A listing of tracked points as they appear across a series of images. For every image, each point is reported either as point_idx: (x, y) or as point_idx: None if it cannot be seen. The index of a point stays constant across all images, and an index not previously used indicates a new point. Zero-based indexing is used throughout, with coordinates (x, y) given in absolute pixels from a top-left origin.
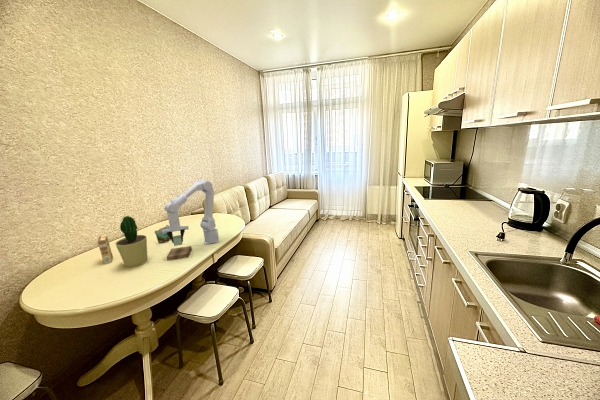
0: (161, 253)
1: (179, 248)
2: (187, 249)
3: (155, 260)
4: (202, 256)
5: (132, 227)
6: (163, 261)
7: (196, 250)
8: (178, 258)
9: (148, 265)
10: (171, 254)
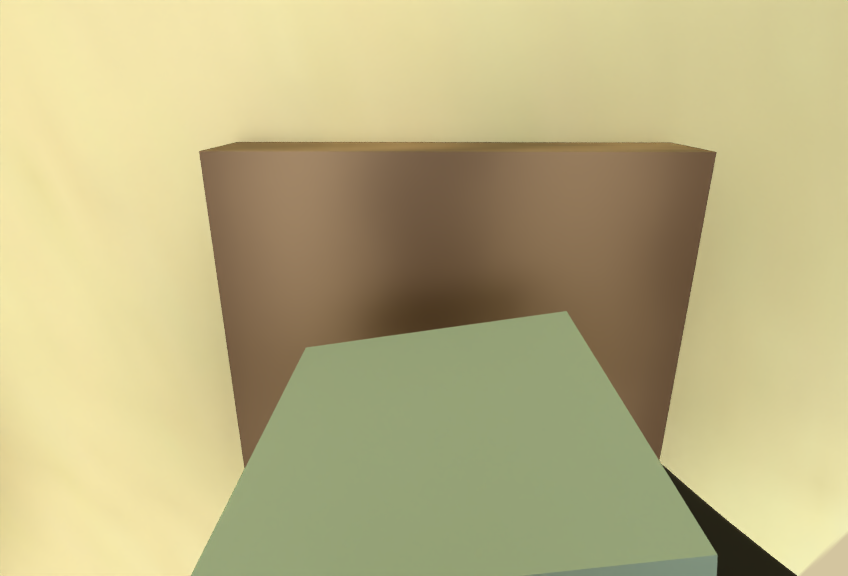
0: (4, 127)
1: (419, 218)
2: (626, 353)
3: (57, 417)
4: (844, 531)
5: None
6: (223, 494)
7: (770, 248)
8: None
9: (36, 542)
10: None
